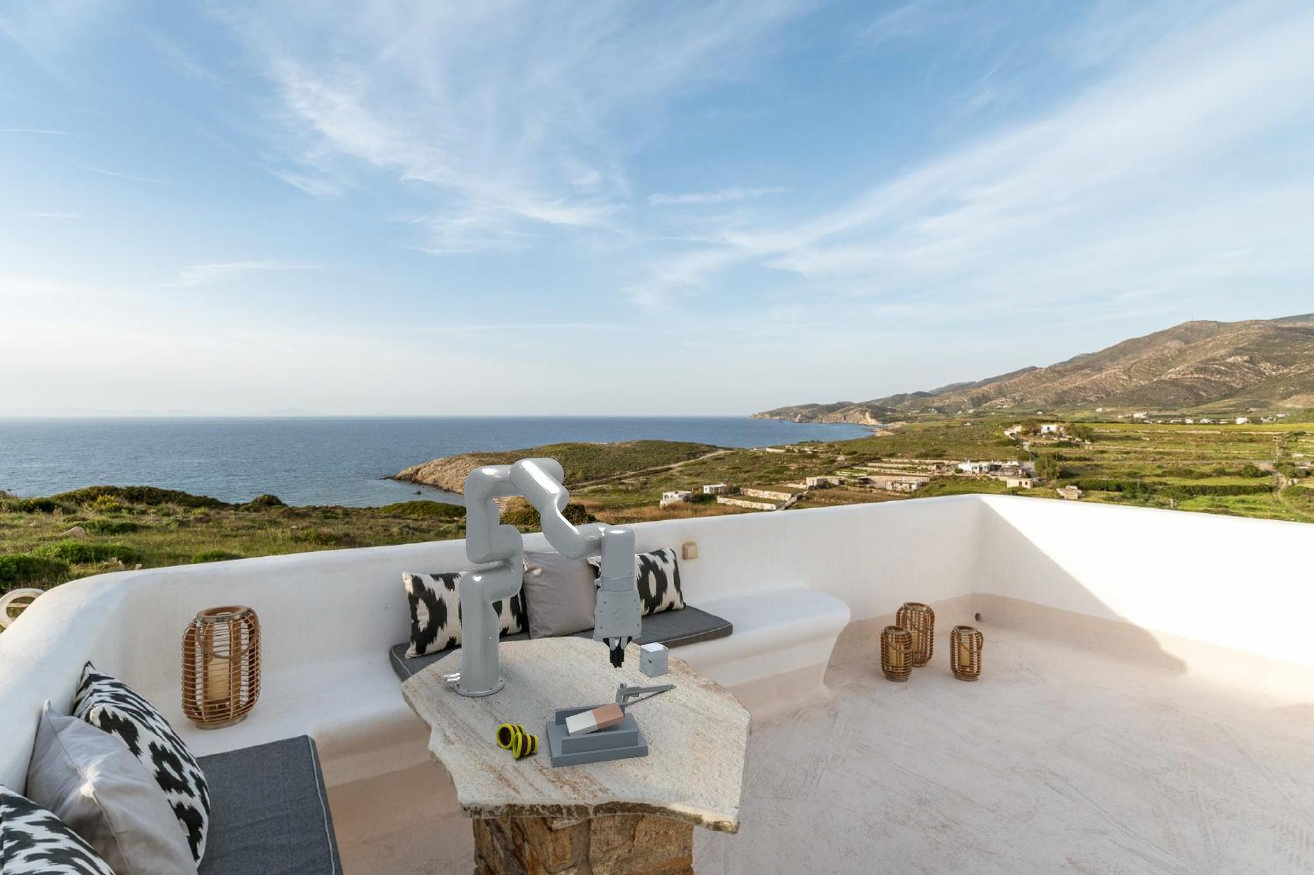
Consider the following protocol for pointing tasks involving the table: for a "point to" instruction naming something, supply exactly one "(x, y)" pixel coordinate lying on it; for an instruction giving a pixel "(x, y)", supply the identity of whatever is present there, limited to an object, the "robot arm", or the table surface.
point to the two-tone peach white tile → (594, 719)
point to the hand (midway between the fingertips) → (616, 665)
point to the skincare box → (653, 659)
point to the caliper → (639, 690)
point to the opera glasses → (516, 739)
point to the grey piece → (593, 739)
